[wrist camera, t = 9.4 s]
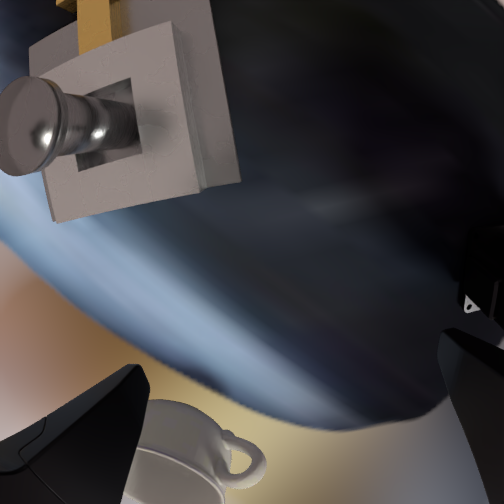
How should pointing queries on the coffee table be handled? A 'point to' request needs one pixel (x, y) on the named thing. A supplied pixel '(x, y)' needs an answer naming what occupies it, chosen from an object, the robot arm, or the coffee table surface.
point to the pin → (57, 125)
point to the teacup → (187, 458)
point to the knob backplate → (141, 103)
